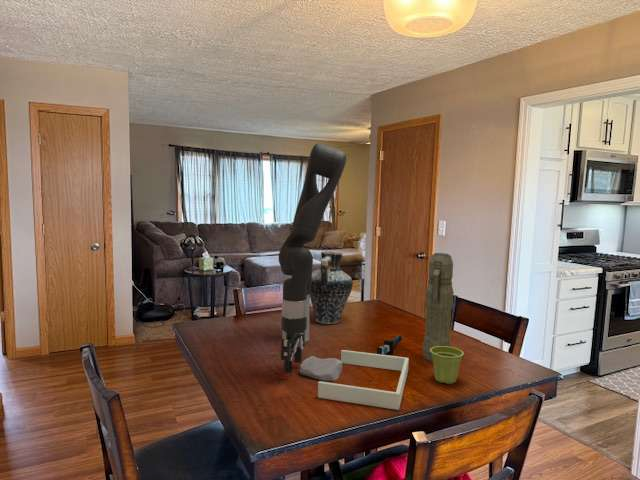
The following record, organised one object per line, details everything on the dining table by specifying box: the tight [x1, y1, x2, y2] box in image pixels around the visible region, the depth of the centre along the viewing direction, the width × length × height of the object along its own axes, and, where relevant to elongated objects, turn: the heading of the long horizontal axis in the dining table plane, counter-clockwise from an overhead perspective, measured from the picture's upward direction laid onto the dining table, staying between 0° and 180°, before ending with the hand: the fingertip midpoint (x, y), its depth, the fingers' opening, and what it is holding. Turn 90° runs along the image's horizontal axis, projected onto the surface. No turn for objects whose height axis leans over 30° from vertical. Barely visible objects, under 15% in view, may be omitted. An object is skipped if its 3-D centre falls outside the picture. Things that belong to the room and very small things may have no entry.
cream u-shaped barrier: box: [317, 349, 410, 411], centre depth 125 cm, size 21×27×4 cm
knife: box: [376, 334, 403, 355], centre depth 153 cm, size 31×3×4 cm, turn 152°
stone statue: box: [422, 252, 454, 363], centre depth 145 cm, size 9×12×35 cm
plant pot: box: [430, 346, 465, 385], centre depth 128 cm, size 9×9×9 cm
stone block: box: [299, 355, 344, 382], centre depth 131 cm, size 12×5×10 cm
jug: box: [310, 250, 354, 325], centre depth 186 cm, size 21×19×30 cm
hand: (293, 367), depth 131 cm, fingers open, 8 cm apart
